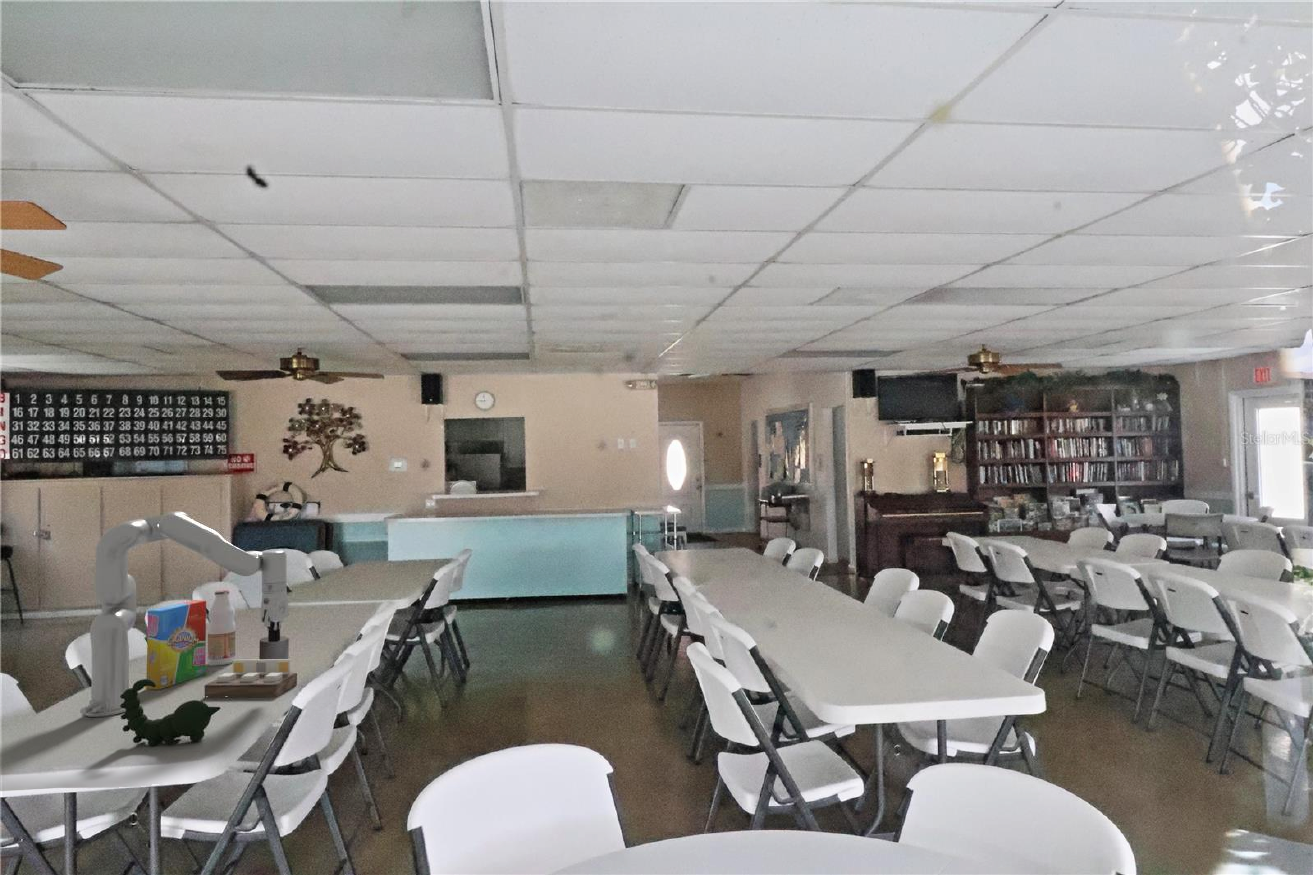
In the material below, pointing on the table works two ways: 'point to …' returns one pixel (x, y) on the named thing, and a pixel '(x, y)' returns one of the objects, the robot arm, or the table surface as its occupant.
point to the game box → (176, 643)
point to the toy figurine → (180, 723)
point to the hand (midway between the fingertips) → (274, 641)
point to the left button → (227, 677)
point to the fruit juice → (221, 630)
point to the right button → (273, 677)
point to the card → (261, 666)
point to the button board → (251, 687)
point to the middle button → (250, 677)
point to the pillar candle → (274, 648)
